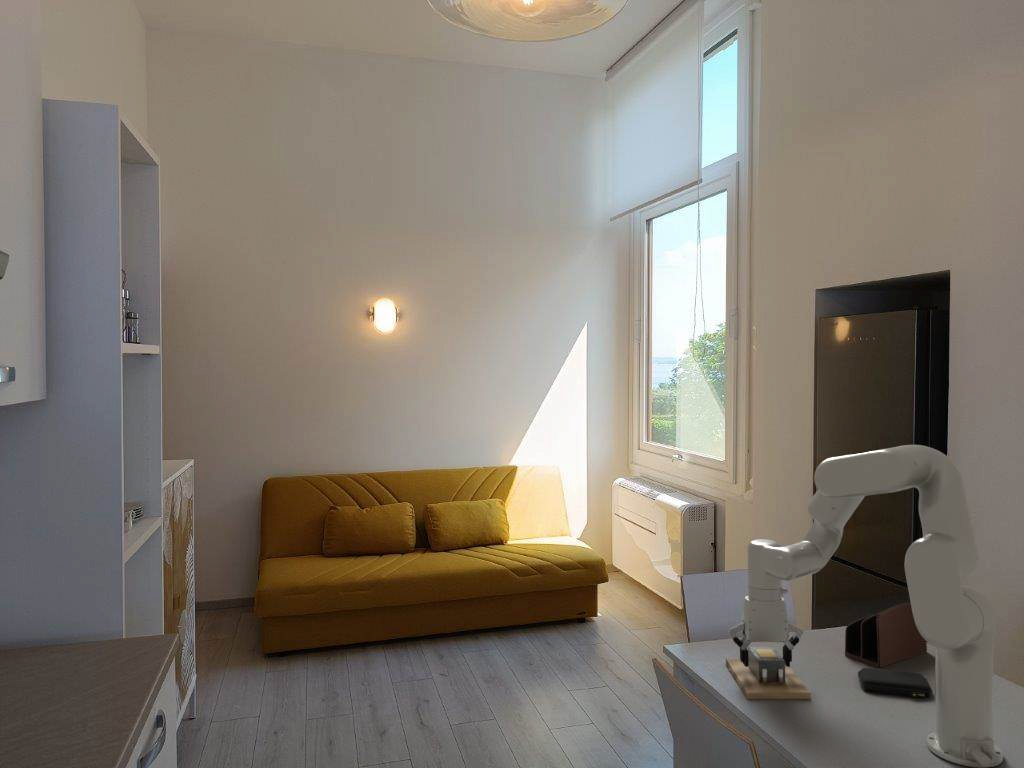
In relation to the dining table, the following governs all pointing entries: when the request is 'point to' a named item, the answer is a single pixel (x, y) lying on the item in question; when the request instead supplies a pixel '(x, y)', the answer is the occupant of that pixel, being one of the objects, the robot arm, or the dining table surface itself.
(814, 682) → the dining table surface
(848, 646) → the letter holder
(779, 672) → the tray
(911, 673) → the carrying case or bag
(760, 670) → the block
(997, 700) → the dining table surface
